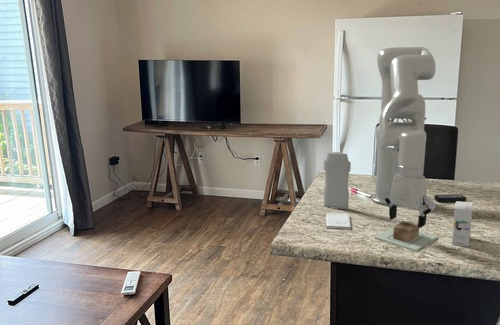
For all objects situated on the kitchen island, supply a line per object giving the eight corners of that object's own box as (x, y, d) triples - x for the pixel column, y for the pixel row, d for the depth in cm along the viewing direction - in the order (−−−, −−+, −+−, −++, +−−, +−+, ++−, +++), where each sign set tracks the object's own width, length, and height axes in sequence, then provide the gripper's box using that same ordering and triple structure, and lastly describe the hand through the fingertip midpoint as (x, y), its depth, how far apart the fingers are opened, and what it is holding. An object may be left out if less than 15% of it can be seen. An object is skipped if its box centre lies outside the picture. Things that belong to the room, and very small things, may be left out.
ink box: (452, 234, 145) (455, 200, 143) (469, 237, 143) (472, 202, 140) (451, 244, 138) (454, 208, 135) (469, 247, 136) (472, 210, 133)
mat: (397, 226, 153) (397, 225, 153) (437, 238, 143) (437, 236, 143) (374, 238, 144) (375, 236, 143) (416, 251, 134) (416, 249, 133)
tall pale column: (320, 206, 174) (321, 151, 169) (324, 203, 178) (325, 149, 172) (347, 210, 169) (349, 154, 164) (350, 207, 173) (352, 151, 167)
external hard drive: (349, 218, 163) (350, 231, 151) (326, 217, 165) (326, 229, 153) (349, 214, 163) (350, 226, 151) (326, 213, 164) (326, 225, 152)
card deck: (393, 238, 142) (393, 226, 141) (403, 231, 148) (404, 219, 147) (408, 242, 138) (409, 230, 137) (418, 235, 144) (419, 222, 143)
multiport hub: (433, 200, 181) (434, 194, 180) (461, 199, 180) (461, 194, 180) (438, 203, 176) (438, 197, 176) (466, 203, 176) (466, 197, 176)
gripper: (378, 168, 142) (376, 218, 146) (432, 179, 130) (427, 233, 134) (391, 163, 147) (388, 212, 151) (443, 173, 135) (438, 226, 139)
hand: (406, 222), depth 143 cm, fingers open, 9 cm apart
